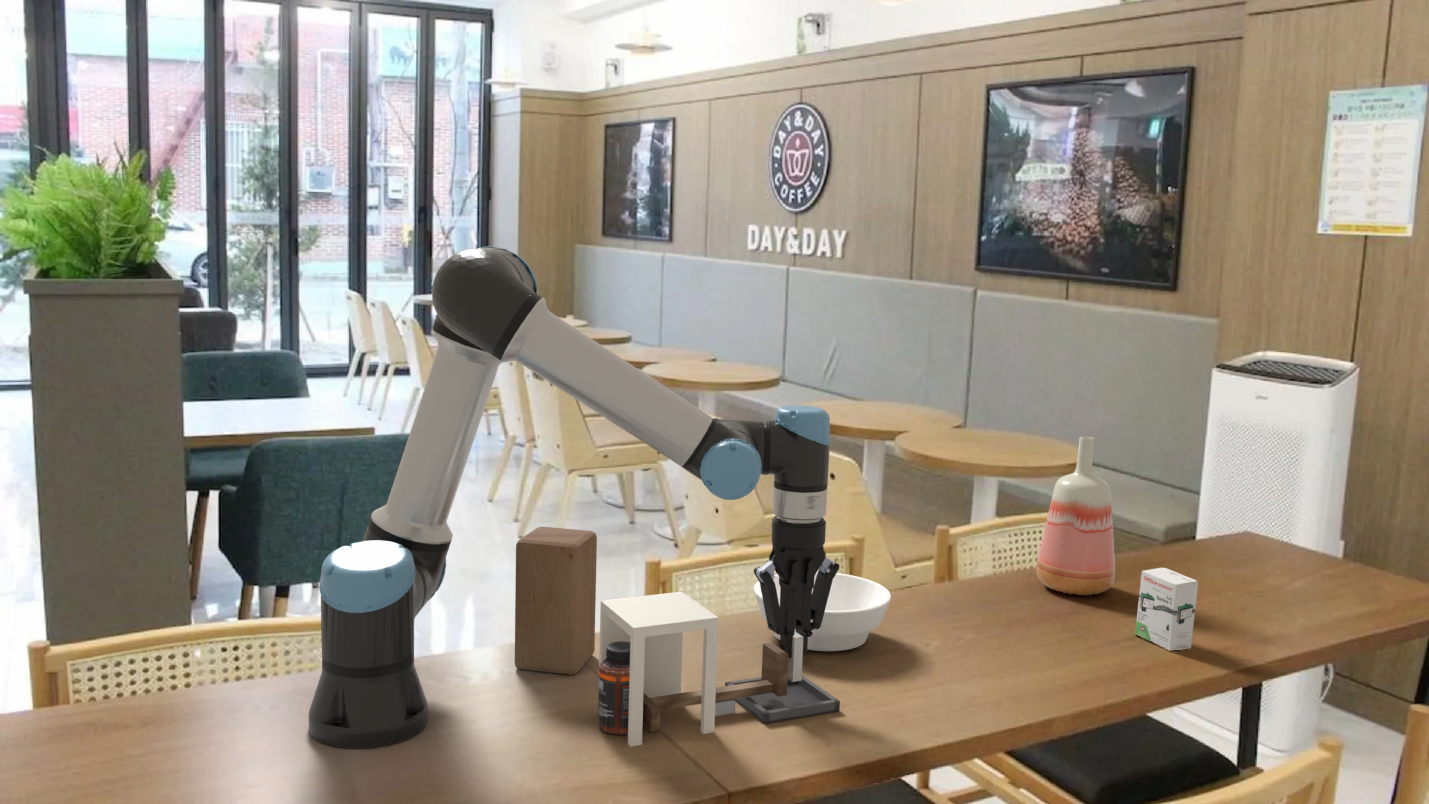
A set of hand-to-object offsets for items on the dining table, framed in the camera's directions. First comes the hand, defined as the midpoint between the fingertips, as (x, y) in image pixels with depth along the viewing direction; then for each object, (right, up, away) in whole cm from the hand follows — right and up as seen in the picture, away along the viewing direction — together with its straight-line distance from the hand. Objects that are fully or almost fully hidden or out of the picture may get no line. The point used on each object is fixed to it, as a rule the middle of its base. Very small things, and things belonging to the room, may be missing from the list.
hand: (792, 677), depth 171 cm
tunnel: (-17, -4, -8) cm, 19 cm away
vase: (+58, +3, +60) cm, 83 cm away
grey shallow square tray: (-2, -3, 0) cm, 4 cm away
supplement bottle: (-24, -4, -11) cm, 27 cm away
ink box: (+64, -1, +31) cm, 71 cm away
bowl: (+6, 0, +27) cm, 27 cm away
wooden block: (-35, -1, +12) cm, 37 cm away
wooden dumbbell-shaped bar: (-12, -3, -5) cm, 13 cm away
